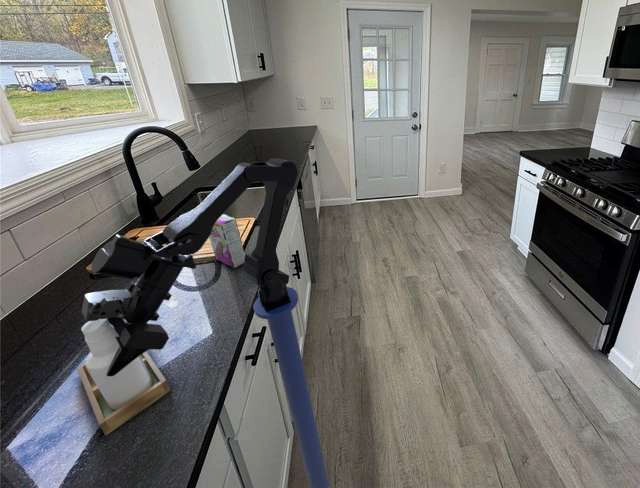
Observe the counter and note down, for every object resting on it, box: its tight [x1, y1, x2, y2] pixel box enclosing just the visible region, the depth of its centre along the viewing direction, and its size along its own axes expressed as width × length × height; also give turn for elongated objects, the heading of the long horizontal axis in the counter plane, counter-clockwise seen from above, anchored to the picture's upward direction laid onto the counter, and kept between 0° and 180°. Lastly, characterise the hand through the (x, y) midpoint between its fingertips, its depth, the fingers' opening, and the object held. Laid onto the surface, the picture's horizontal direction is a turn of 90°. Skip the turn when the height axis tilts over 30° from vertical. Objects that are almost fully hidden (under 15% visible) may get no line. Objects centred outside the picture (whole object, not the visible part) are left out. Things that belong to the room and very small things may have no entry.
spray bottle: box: [80, 318, 153, 410], centre depth 58 cm, size 7×7×18 cm
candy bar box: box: [208, 213, 246, 269], centre depth 102 cm, size 11×5×16 cm, turn 58°
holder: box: [76, 350, 172, 437], centre depth 64 cm, size 10×19×3 cm, turn 53°
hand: (104, 365), depth 57 cm, fingers closed on spray bottle, 7 cm apart
